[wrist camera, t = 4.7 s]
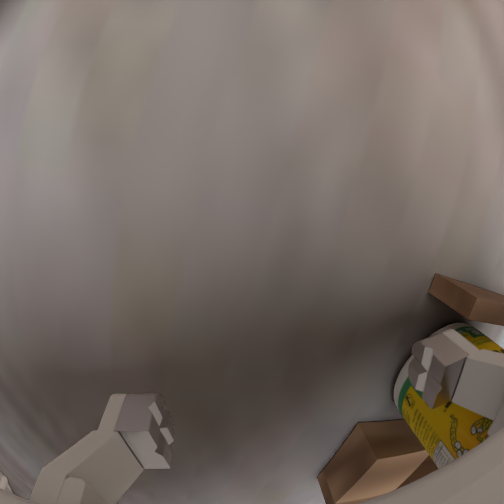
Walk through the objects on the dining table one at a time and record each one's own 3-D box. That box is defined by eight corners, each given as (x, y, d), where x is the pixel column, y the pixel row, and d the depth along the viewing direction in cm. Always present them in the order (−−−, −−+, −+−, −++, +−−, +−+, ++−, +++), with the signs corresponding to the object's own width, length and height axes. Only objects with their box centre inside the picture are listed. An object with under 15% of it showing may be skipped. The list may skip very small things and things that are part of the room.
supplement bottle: (394, 423, 12) (474, 556, 3) (383, 357, 11) (516, 536, 2) (470, 372, 12) (566, 473, 3) (475, 298, 11) (619, 405, 2)
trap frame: (500, 432, 17) (512, 445, 14) (317, 476, 13) (327, 509, 11) (566, 318, 14) (583, 329, 11) (435, 273, 10) (477, 297, 8)
